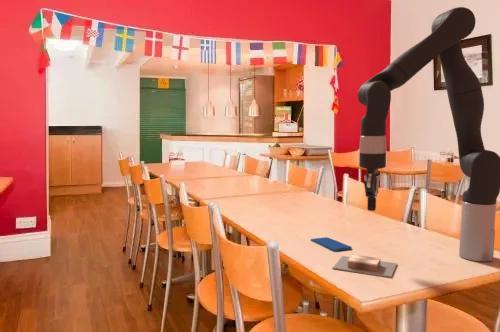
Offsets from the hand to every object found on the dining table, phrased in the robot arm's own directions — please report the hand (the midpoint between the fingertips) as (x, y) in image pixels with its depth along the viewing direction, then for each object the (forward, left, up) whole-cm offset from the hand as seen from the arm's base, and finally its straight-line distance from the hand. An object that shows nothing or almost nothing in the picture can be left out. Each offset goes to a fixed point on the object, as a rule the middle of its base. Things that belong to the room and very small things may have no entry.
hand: (371, 210), depth 132 cm
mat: (0, +5, -16) cm, 17 cm away
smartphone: (+15, -13, -16) cm, 26 cm away
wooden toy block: (0, +4, -14) cm, 15 cm away
